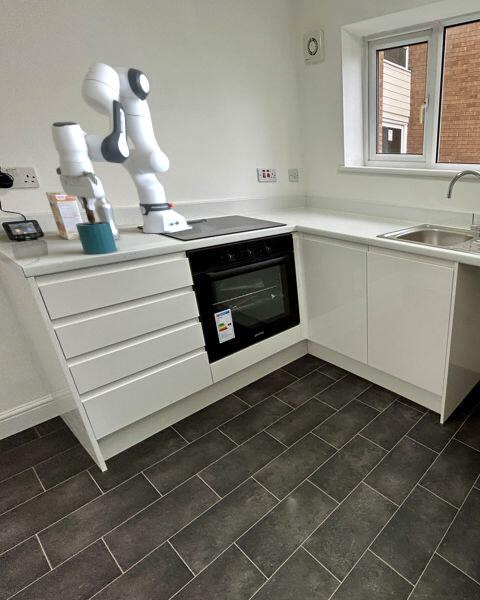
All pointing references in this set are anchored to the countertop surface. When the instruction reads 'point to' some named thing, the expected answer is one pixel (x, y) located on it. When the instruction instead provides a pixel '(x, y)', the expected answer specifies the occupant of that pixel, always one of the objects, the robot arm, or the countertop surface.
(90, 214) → the brush
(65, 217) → the coffeecake box
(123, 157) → the robot arm
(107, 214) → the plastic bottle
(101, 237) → the teal pot
